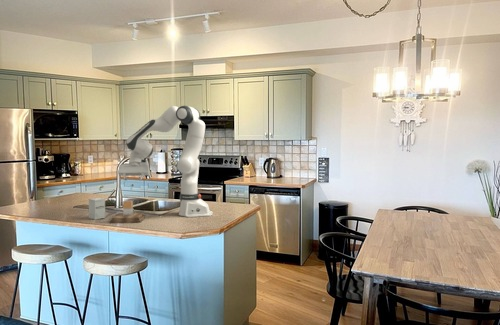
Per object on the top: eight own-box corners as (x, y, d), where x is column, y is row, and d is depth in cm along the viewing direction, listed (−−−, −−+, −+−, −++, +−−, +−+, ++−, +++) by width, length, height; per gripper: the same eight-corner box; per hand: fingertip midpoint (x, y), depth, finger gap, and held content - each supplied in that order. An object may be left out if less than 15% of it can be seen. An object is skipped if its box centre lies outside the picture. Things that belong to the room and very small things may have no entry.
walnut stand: (145, 216, 242) (145, 212, 242) (140, 222, 226) (140, 217, 226) (117, 217, 241) (116, 212, 241) (109, 223, 225) (109, 218, 225)
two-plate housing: (133, 214, 236) (132, 200, 235) (131, 215, 232) (131, 201, 231) (125, 214, 235) (124, 200, 234) (123, 215, 231) (123, 201, 230)
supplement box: (95, 220, 234) (94, 200, 233) (88, 218, 238) (88, 198, 237) (105, 217, 239) (105, 198, 238) (99, 216, 244) (98, 197, 243)
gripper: (118, 160, 250) (115, 177, 241) (149, 160, 252) (147, 176, 243) (120, 166, 255) (117, 182, 246) (151, 166, 257) (149, 182, 248)
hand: (132, 179), depth 245 cm, fingers open, 8 cm apart
